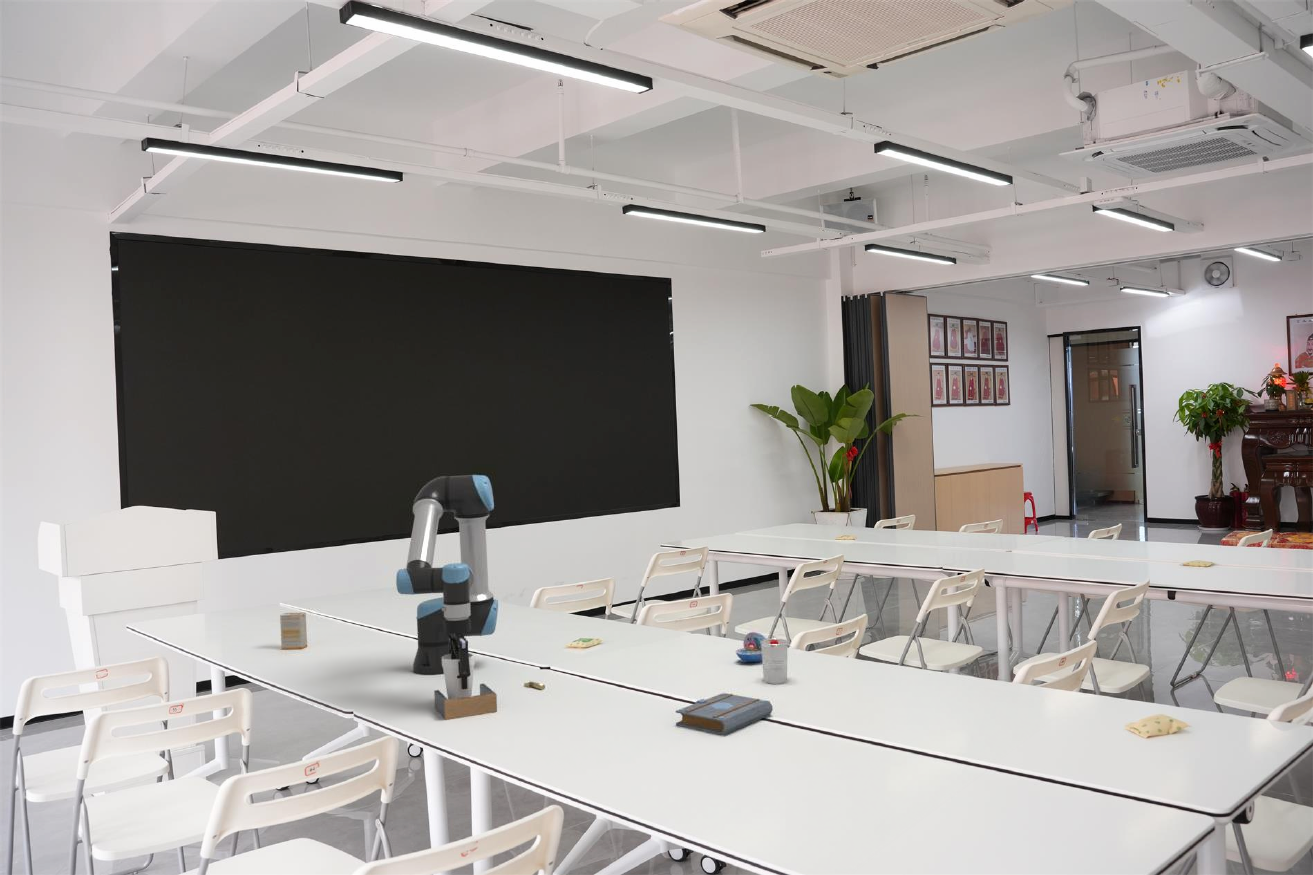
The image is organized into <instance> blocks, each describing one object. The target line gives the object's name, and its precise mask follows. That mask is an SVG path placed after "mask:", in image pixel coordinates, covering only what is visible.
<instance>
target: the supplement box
mask: <svg viewBox="0 0 1313 875" xmlns="http://www.w3.org/2000/svg"><path fill="white" fill-rule="evenodd" d="M306 614H307V613H306V612H285V613H282V614H280V615H279V618H280V620H279V622H280V642H281V643H280V644H281V650H303V649H305V648H307V647H308V637H307V636H308V635H307V615H306Z"/></svg>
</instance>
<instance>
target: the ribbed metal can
mask: <svg viewBox="0 0 1313 875" xmlns="http://www.w3.org/2000/svg"><path fill="white" fill-rule="evenodd" d="M760 643H761V644H759V645H761V650H762V659H761V666H762V674H763V682H764V683H766V684H772V685H779V684H780V685H781V684H784V683H787V681H788V648H789V647H791V645H788V643H789V640H787V639H783V638H766V639H765V640H762V641H760Z"/></svg>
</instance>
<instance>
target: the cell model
mask: <svg viewBox="0 0 1313 875" xmlns="http://www.w3.org/2000/svg"><path fill="white" fill-rule="evenodd" d="M743 638H744V639H743V642H742V643H743V647H741V648H739V649H736V650H735V654H736V655H737V657H738V658H739V659H740V660H741V661H743V662H746V663H757V662H760V661H762V650H761V645H759V644H761V643H760V641H762V640H765V639H767V638H766V637H765V636H764V635H763V634H762V633H759V632H755V631H750V632H748V633H747V634H745V636H744V637H743Z"/></svg>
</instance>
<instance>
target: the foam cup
mask: <svg viewBox="0 0 1313 875" xmlns="http://www.w3.org/2000/svg"><path fill="white" fill-rule="evenodd" d="M468 654H469V665H470V673H471V674H470V676H469V677H468V682H469V697H470V696H473V695H472V692H473V685H474V684H473V681H474V674H475V673H474V671H475V665H476V656H475V653H471V652H468ZM458 661H459V662H460V660H458V659H455V660H451V654H448V655H444V656H442V667H443V671H444V673H443V676H444V681H445V688H446V689H445V690H446V694H447V699H448V700H450V699H457V698H459V686H458V678H457V676H459V671H458Z"/></svg>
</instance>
